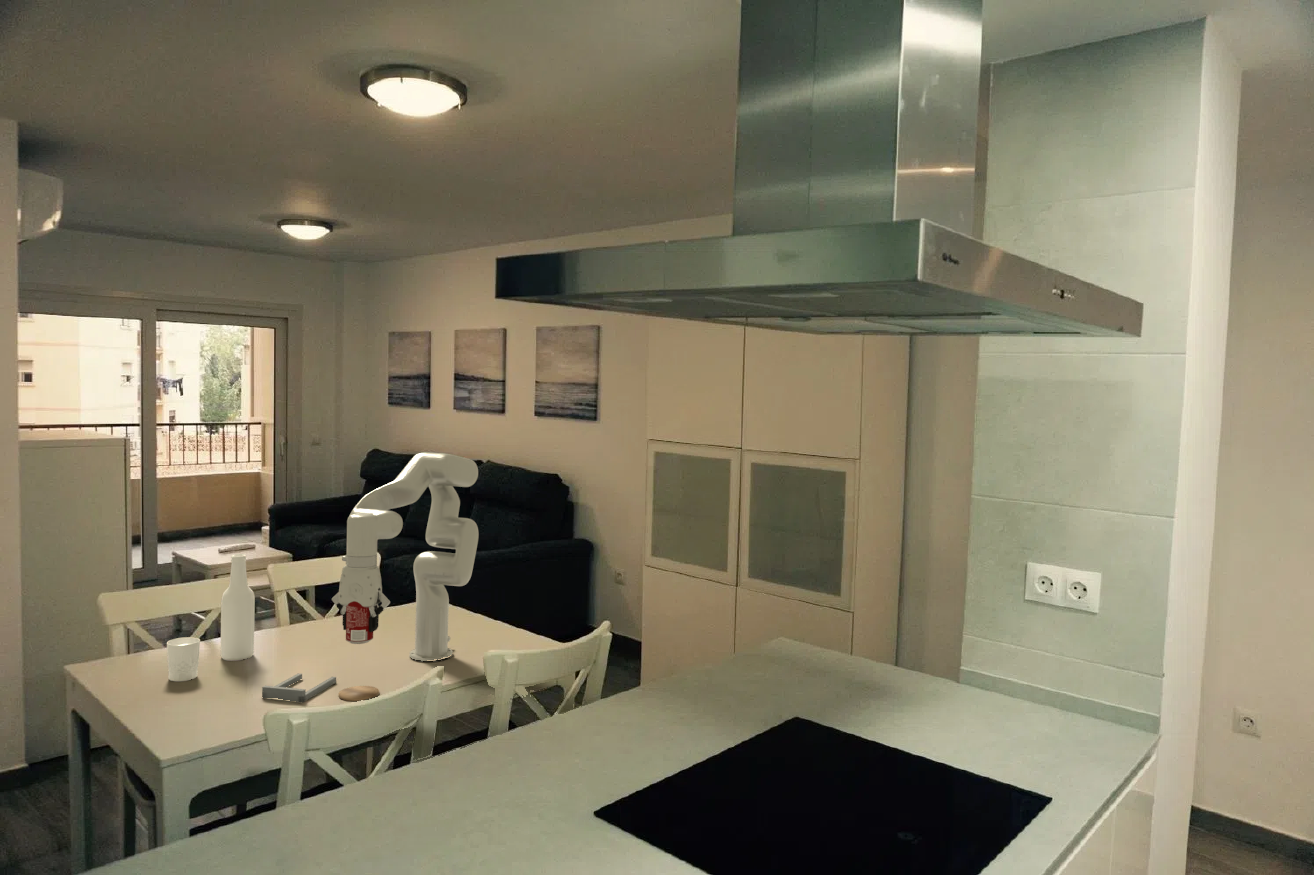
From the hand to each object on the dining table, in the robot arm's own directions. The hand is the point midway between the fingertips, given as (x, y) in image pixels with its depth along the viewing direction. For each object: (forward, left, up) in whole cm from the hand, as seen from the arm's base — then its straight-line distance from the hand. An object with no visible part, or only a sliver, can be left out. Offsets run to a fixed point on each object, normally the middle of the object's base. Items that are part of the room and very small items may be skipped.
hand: (360, 629), depth 223 cm
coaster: (0, 0, -17) cm, 17 cm away
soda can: (0, 0, -3) cm, 3 cm away
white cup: (0, -51, -17) cm, 54 cm away
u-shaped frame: (+1, -16, -17) cm, 23 cm away
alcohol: (-20, -49, -17) cm, 56 cm away
